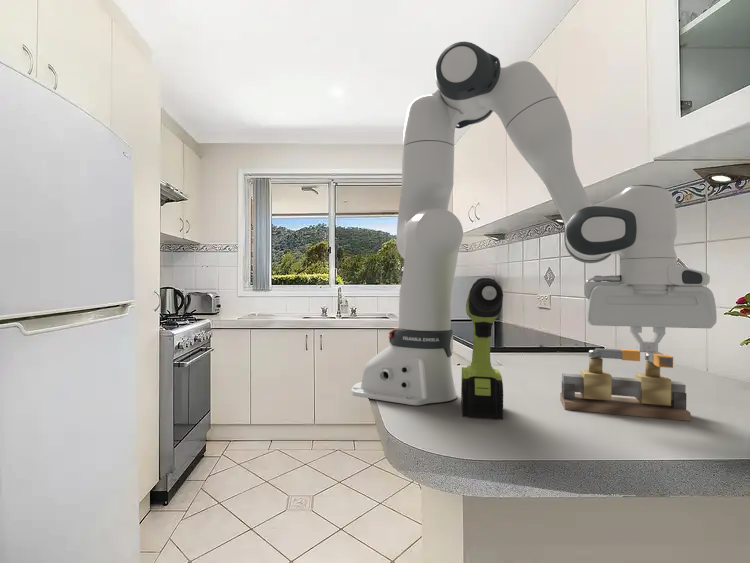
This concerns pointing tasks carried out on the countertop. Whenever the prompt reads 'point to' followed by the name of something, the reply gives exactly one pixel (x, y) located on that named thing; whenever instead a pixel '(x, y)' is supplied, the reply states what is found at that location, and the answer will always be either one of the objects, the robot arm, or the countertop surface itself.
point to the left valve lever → (615, 354)
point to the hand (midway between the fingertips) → (647, 352)
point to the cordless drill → (482, 354)
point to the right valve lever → (660, 359)
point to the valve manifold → (625, 393)
